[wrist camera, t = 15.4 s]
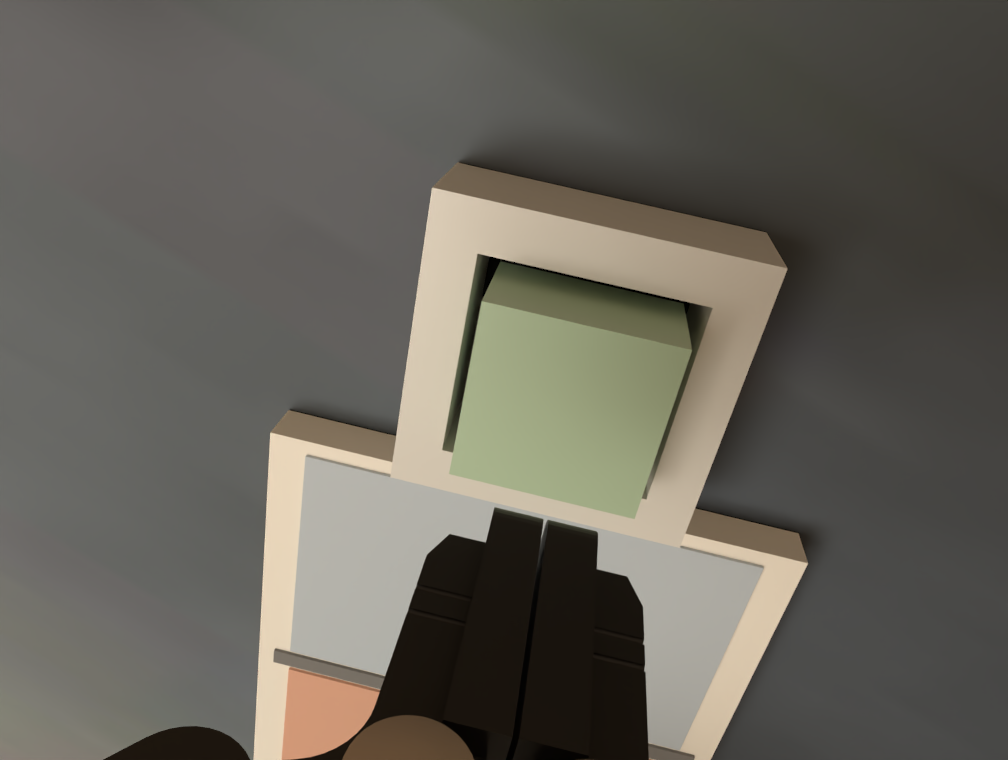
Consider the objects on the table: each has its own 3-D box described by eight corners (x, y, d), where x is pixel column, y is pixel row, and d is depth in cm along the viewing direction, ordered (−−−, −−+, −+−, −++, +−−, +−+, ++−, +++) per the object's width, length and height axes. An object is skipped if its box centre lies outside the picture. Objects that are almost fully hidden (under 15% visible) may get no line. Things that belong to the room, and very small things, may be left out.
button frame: (766, 232, 17) (787, 268, 15) (673, 486, 20) (679, 547, 18) (457, 162, 17) (431, 187, 15) (416, 424, 20) (390, 476, 18)
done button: (683, 303, 16) (692, 350, 14) (633, 457, 18) (634, 519, 16) (500, 261, 16) (482, 301, 14) (469, 418, 18) (449, 474, 16)
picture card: (798, 533, 20) (809, 566, 19) (636, 873, 28) (636, 911, 26) (289, 409, 21) (268, 434, 20) (265, 776, 28) (250, 809, 27)
